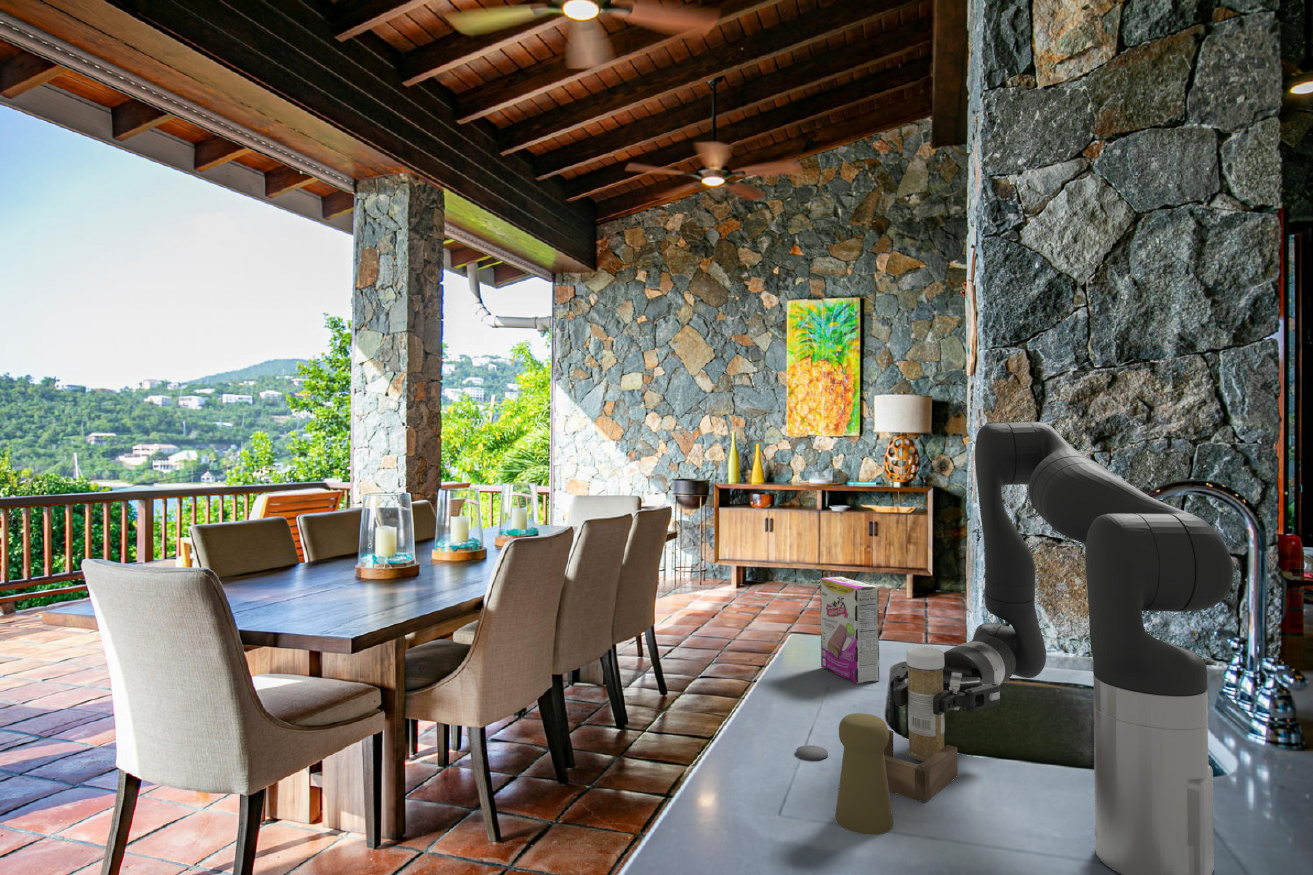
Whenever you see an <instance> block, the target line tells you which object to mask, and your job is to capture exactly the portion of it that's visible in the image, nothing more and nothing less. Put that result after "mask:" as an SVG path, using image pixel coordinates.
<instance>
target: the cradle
mask: <svg viewBox="0 0 1313 875" xmlns="http://www.w3.org/2000/svg"><path fill="white" fill-rule="evenodd" d="M888 732H889V741H888V745H887V746H886V748H885V749H884V750H883V751H884V758H885V766H886V773H887V780H888V788H889V793H894V794H897V795H899V796H903V797H906V798H910V799H913V800H916V801H919V802H923V803H927V802H928V801H929V800H931V799H932V798H933V797H934V796H936V795H937V794H938V793H939V792H941V791H942V790H943V789H944V788H946V787H947V786H948V785H950V783H952V782H953V781H954V780H956V779H957V777H956V776H958V775H959V774H958V770H959V769H958V768H959V766H958V761H959V759H958V747H957V746H954V745H949V744H947V745H944V748H942V749H941V750H940V751H938V752H937V753H935V754H934V755H933V756H931V757H930V758H928V759H927V760H926V761H922V763H920V764H918V763H913V762H910V761H907V760H902V759H899V758H896V757H894V730H890V729H888ZM953 779H954V780H953ZM952 780H953V781H952ZM951 781H952V782H951Z"/></svg>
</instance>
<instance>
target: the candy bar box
mask: <svg viewBox="0 0 1313 875" xmlns="http://www.w3.org/2000/svg"><path fill="white" fill-rule="evenodd" d="M819 581H820V588H819V589H820V653H821V654H820V666H821V668H823V669H824V670H826V671H829V672H832V673H833V674H836V675H837V676H839V677H842V678H844V679H846V680H848V681H850V682H852V683H854V684H857V685H861V684H863V685H864V684H867V683H874V682H875V683H876V682H879V681H880V634H879V633H880V622H879V620H880V618H879V617H880V616H879V615H880V613H879V612H880V611H879V607H880V606H879V605H880V604H879V603H880V602H879V598H880V597H879V595H880V594H879V589H880V588H879V586H877V585H874V584H869V583H866V582H862V581H859V580H855V579H851V578H847V577H844V576H830V577H821V578H820V579H819Z"/></svg>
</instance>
